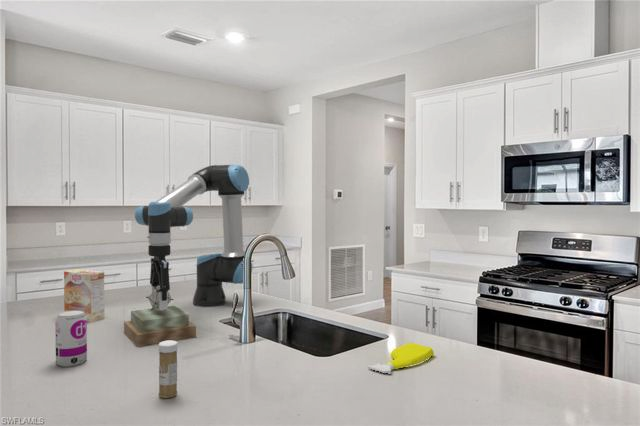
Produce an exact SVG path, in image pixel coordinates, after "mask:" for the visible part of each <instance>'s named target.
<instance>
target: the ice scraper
mask: <svg viewBox="0 0 640 426" xmlns="http://www.w3.org/2000/svg"><path fill="white" fill-rule="evenodd" d="M434 354H435V352H434V349H433V348H432V347H430V346H427V345H426V346H425V345H422V344H418V343H413V342H408V343H405V344H403V345H402V344H401V345H400V346H398V347H396V348H394V349H392V351H391V352H390V357H392V358H391V359H392V360H391V361H387V362H386V363H385V364H380V362H378V363H376V364H373V365H370V364H369V365H367V369H368V368H369V369H368V370H371V369H372V370H371V371H373V370H375V371H374V372H376V371H379V372H378V373H380V372H383V373H391V374H392V371H393V370H392V369H398V368H402V367H406V366H410V365H414V364H417V363H420V362H422V361H425V360H426V359H428V358H430V357H431V356H433V357H434ZM393 359H394V360H393ZM430 359H431V358H430ZM391 370H392V371H391ZM398 370H399V369H398ZM383 373H382V374H383Z"/></svg>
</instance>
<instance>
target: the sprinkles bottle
mask: <svg viewBox="0 0 640 426" xmlns="http://www.w3.org/2000/svg"><path fill="white" fill-rule="evenodd" d="M178 348H179V346H178V341H177V340H176V341H173V340H167V341H163V342H160V343H158V353H159V365H158V387H159V388H158V390H159V391H158V397H160V398H161V399H170V398H174V397H175V396H177V394H178V390H177V389H178V383H177V382H178Z"/></svg>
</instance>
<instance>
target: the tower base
mask: <svg viewBox="0 0 640 426" xmlns="http://www.w3.org/2000/svg"><path fill="white" fill-rule="evenodd" d="M151 309H152V308H146V309H138V310H131V312H130V320H125V321H123V333H124V334H125V335H126V336H127V337H128V339H130V340H131V342H133V344H134V345H136V346H137V348H140V347H145V346H152V344H153V345H159V343H160V342H163V341H167V340H173V341H176V342H177V341H180V340H181V341H182V340H187V339H194V338H197V325H195V324H194V323H192V322H191V321H190V319H189V318H190V314H189V313H187V312H185V311H184V310H183V309H180V308H179V307H177V306H176V305H168V309H166V311H165V310H159V309H157V308H153V310H151Z"/></svg>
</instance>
